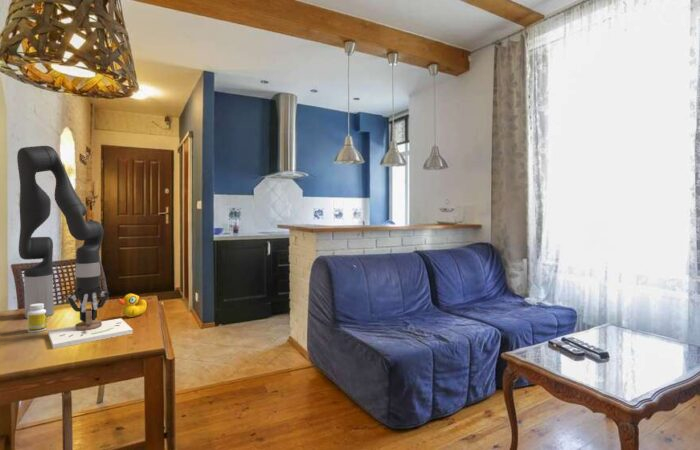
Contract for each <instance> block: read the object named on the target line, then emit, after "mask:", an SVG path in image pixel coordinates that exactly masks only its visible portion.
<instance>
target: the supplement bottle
mask: <svg viewBox="0 0 700 450" xmlns="http://www.w3.org/2000/svg"><path fill="white" fill-rule="evenodd" d="M43 308H44V304H43V303H37V304H32V305H30V309H31V311H29V312H28V314H27V316H28V318H27V332H28V333H39V332H43V331H46V330H47V317H46V310H45V309H43Z"/></svg>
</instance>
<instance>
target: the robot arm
mask: <svg viewBox="0 0 700 450" xmlns="http://www.w3.org/2000/svg"><path fill="white" fill-rule="evenodd" d="M16 158H17V159H16V161H17V162H16V163H17V170H18V176H19V223H20V227H19V241H18V254H19V258H20V259H22V260H42V261H40V263H38V264H35V265H34V266H33V265H32V266H31V267H26V269H24V270H23V271H24V272H23V281H24V282H23V283H24V285H23V286H24V287H23V289H24V290H23V291H24V318H26V319H28V316H27V314H28V312H29V311H31V309H30V305H32V304H37V303H43V304H44V308H43V309H45V310H46V318H47V317H49V316H52V315H54V281H53V280H54V279H53V278H54V276H53V274H54V273H53V271H54V270H53V252H54V242H53V239H52V238H51V237H50V236H33V234H34V233H35V231H36V230H37V229H38V228H39V227H40V226H42V225H43V224H44V223H45V222H46V221H47V219H49V217H50V216H51V205H52V203H51V198H50V196H49V195H48V193H47V192H46V191H45V190H43V188H42V187H41V186H40V185H39V184H38V182H37V179H36V176H37V175H36V174H37V173H41V172H51V173H52V174H53V176H54V178H55V188H54V201H55V203H56V205H57V207H58V208H59V210H60V211H61V213H62V214H63V216H64V217H65V221H66V224H67V228H68V231H69V232H68V233H69V234H70V235H71V237H72V238H74V239H75V240H77V241H84V242H83V245H81V246H79V247H78V248H77V249H76V252H75V261H76V264H75V273H74V275H75V291H74V293H73V294H72V295H70V296H67V297H66V299H65V300H66V301H67V302H68V304H69V305H70V306H71V308H72V310H73V311H75V312H78V313H79V320H80V321H81V322H86V312H85V309H87V304H88V303H89V302H90V304H91V310H92V320H96V319H97V318H98V310H99V309H100V308H103V307H104V305H105V303H106V302H107V300H108V297H109V295H110V292H108V291H104V290H103V289H102V288H101V263H100V250H101V246H102V244H103V239H104V230H105V229H104V228H103V225H102V224H101V222H99V221H96V220H85V218H84V217H85V216H86V214H87V213H88V210H87V208H86V206H85V204H84V203H83V202H82V200H81V199H80V197H79V196H78V194H77V192H76V191H75V189H74V187H73V184H72V183H71V182H72V181H71V180H70V178H69V175H68V172H67V171H66V168H65V166H64V164H63V162H62V159H61V157H60V156H59V154H58V152H57V151H56V149H54V147H52V146H50V145H37V146H25V147H21V148H19V149H18V152H17V155H16ZM32 236H33V237H32ZM99 296H100V299H99V301H98V300H97V299H98V298H99ZM76 298H77V299H78V300H79V306H78V305H77V303H76V302H75V301H76Z"/></svg>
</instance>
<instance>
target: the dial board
mask: <svg viewBox="0 0 700 450" xmlns="http://www.w3.org/2000/svg"><path fill="white" fill-rule="evenodd" d="M101 322H102V325H101V326H100V327H98V328H95V329H90V330H76V329H75V325H72V326H67V327H60V328H53V329H49V330H47V336H48V338H49V341H50V344H51V347H52V349H54V350H55V349H59V348H65V347H69V346H74V345H80V344H86V343H90V342H95V341H101V340H105V339H112V338H115V337H120V336H126V335H130V334H131V335H132V334H133V333H134V332H133V331H134V330H133V328H132V327H131V326H130V325H129V324H128V323H127V322H126V321H125V320H123V318H120V317H119V318H115V319H108V320H101ZM111 337H112V338H111Z"/></svg>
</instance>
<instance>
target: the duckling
mask: <svg viewBox="0 0 700 450" xmlns="http://www.w3.org/2000/svg"><path fill="white" fill-rule="evenodd" d="M139 299H140V296H139V295H137V294H134V293H127V294H125V296H124V297H123V299H121V298H118V299H117V302H118V303H119V305H122V306H123V305H124V307H123V308H122V314H123V315H124V316H126V317H128V318H134V317H138V316H140V315H142V314H143V313H145V311H146V310H147V301H146V300H145V299H140V300H139Z"/></svg>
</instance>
